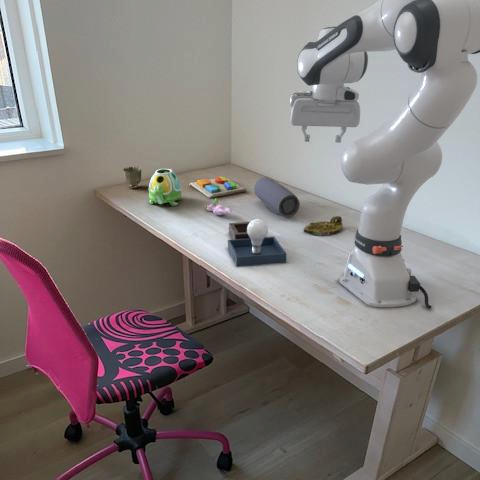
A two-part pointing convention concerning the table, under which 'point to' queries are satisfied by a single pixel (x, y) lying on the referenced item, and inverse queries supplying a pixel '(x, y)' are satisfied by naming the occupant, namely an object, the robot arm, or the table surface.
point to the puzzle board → (217, 187)
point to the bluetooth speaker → (276, 197)
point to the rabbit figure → (218, 208)
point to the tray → (246, 257)
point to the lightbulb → (257, 234)
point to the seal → (325, 227)
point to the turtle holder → (164, 187)
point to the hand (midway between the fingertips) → (322, 141)
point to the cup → (132, 176)
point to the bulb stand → (238, 230)
